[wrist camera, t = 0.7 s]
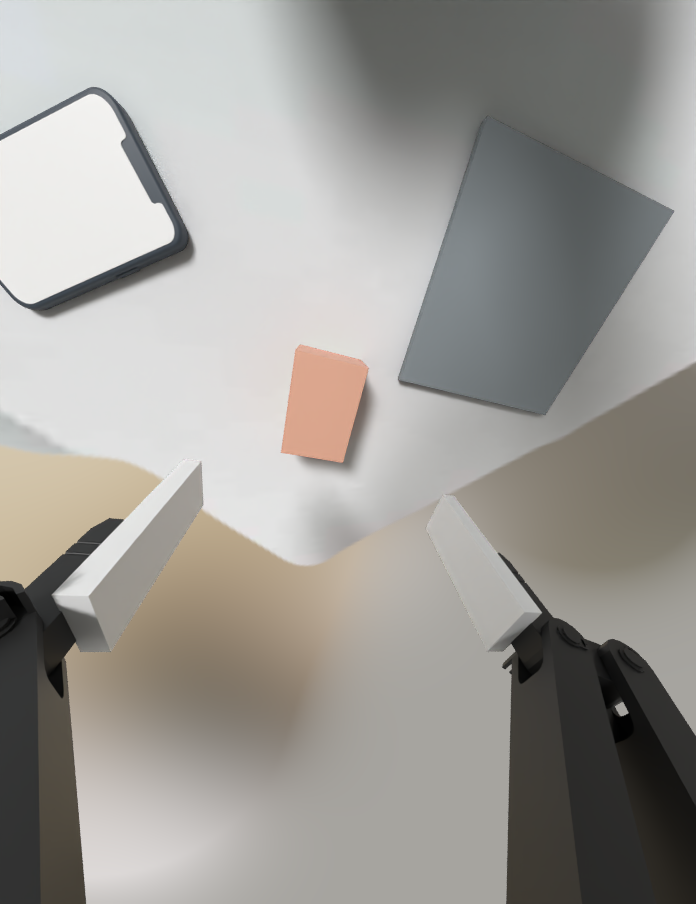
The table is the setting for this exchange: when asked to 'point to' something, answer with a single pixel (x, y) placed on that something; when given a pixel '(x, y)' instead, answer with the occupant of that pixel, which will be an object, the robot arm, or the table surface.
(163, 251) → the smartphone
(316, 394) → the card box
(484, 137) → the mat
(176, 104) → the table surface
